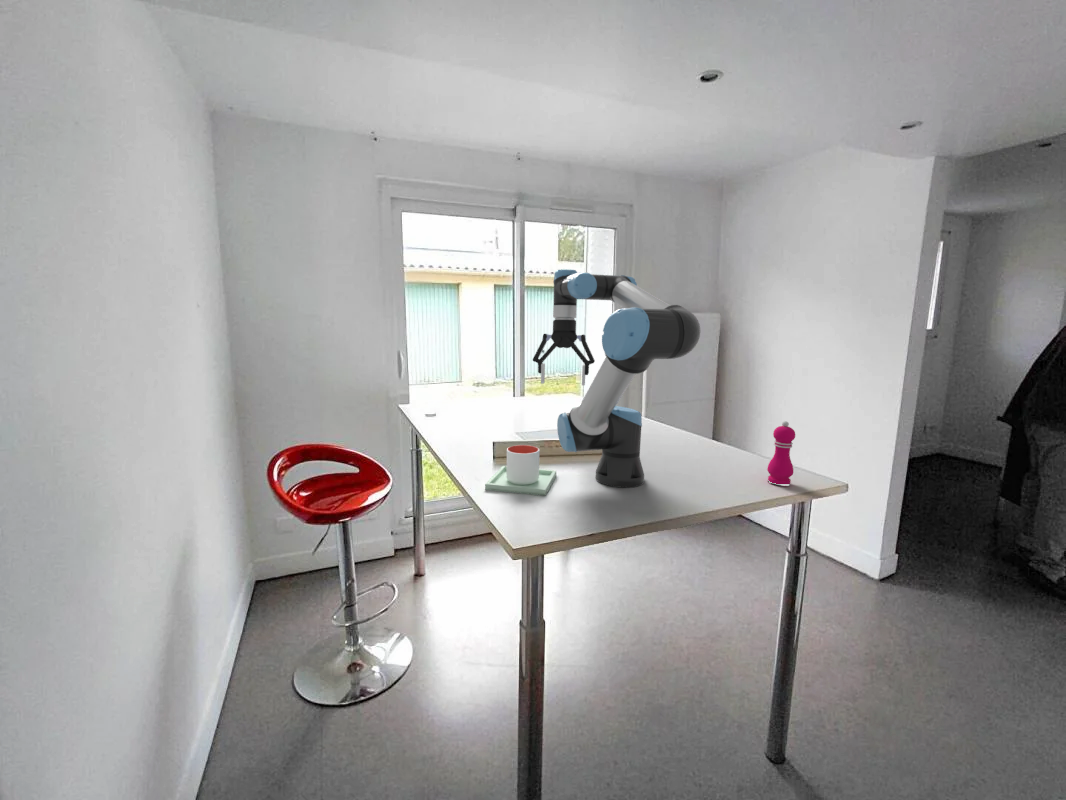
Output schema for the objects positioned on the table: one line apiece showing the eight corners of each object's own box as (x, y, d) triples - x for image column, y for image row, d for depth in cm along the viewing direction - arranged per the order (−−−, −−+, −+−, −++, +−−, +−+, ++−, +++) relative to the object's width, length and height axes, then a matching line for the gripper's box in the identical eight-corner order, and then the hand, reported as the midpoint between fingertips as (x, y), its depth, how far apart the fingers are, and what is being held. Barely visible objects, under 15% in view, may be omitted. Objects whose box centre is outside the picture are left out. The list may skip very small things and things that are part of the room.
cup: (544, 479, 144) (545, 448, 143) (527, 488, 136) (527, 455, 134) (518, 473, 150) (518, 443, 148) (499, 481, 141) (500, 450, 140)
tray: (556, 475, 150) (556, 470, 149) (545, 495, 132) (545, 489, 132) (502, 471, 154) (502, 465, 153) (485, 489, 136) (485, 483, 136)
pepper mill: (794, 483, 146) (801, 421, 143) (788, 489, 141) (795, 425, 138) (770, 478, 151) (776, 417, 148) (762, 483, 146) (769, 421, 143)
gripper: (604, 319, 152) (601, 384, 155) (529, 318, 157) (528, 381, 160) (602, 319, 145) (600, 387, 148) (524, 318, 149) (523, 383, 153)
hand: (562, 384), depth 154 cm, fingers open, 13 cm apart
